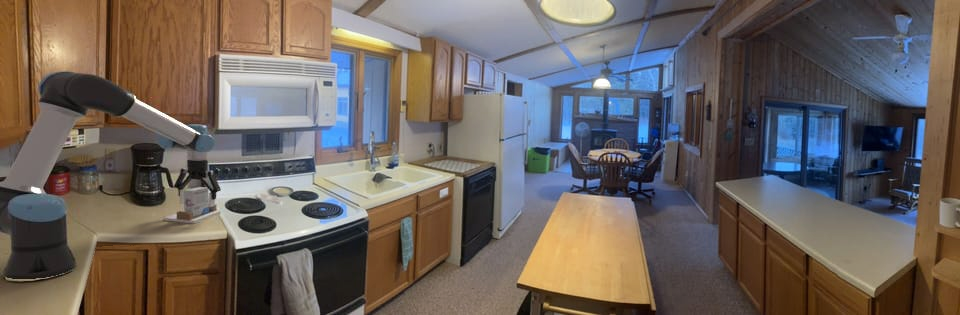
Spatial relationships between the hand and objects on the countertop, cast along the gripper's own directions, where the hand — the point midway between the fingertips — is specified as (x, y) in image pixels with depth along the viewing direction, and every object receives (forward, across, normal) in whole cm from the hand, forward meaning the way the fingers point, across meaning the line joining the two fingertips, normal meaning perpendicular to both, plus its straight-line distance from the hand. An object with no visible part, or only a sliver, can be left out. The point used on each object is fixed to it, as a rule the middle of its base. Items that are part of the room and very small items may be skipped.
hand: (197, 205), depth 188 cm
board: (+6, +2, 0) cm, 6 cm away
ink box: (+4, 0, 0) cm, 4 cm away
